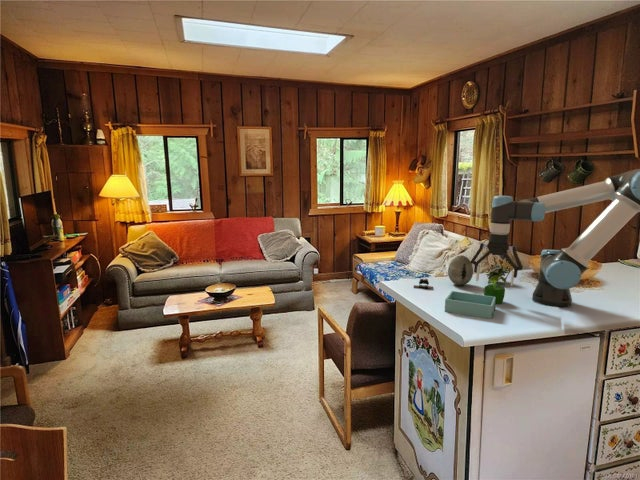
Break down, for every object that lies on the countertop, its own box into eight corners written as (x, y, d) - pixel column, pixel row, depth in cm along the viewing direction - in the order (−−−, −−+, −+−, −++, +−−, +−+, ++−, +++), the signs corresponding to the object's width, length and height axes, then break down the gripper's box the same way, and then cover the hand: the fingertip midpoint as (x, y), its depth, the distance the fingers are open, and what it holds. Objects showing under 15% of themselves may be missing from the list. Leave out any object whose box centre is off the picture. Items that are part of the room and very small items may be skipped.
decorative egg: (445, 281, 212) (446, 252, 209) (468, 282, 211) (470, 253, 208) (450, 287, 200) (452, 257, 198) (474, 288, 199) (477, 258, 197)
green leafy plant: (493, 291, 214) (501, 271, 217) (510, 293, 204) (519, 272, 207) (478, 281, 210) (487, 260, 213) (495, 282, 200) (504, 261, 203)
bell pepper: (500, 308, 171) (502, 285, 169) (480, 304, 176) (482, 281, 174) (506, 303, 177) (508, 281, 175) (487, 299, 182) (488, 278, 181)
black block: (436, 287, 203) (436, 278, 202) (437, 291, 196) (437, 282, 195) (410, 285, 206) (410, 276, 205) (410, 289, 199) (410, 280, 198)
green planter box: (495, 308, 167) (496, 297, 166) (492, 319, 155) (493, 306, 155) (450, 302, 175) (450, 290, 174) (443, 311, 164) (444, 299, 163)
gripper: (533, 234, 169) (527, 284, 173) (469, 229, 180) (465, 276, 184) (532, 237, 162) (526, 289, 166) (466, 231, 174) (462, 280, 178)
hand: (494, 282), depth 175 cm, fingers open, 13 cm apart
